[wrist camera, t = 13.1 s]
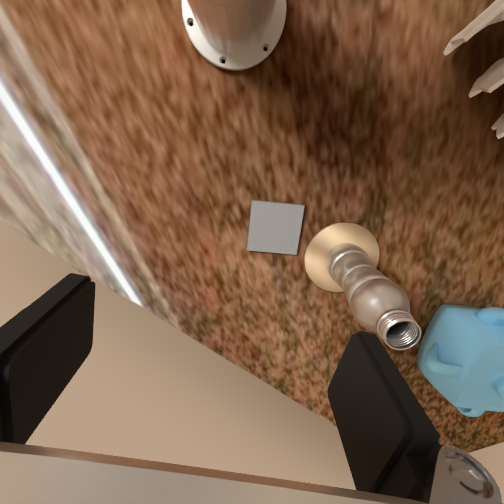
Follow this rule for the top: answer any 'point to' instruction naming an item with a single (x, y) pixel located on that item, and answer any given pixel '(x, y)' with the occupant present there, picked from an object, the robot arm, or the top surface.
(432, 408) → the top surface
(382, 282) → the silver metal bottle
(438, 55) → the top surface
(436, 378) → the teapot
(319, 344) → the top surface
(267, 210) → the slate coaster
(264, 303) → the top surface
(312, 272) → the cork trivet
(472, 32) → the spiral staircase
